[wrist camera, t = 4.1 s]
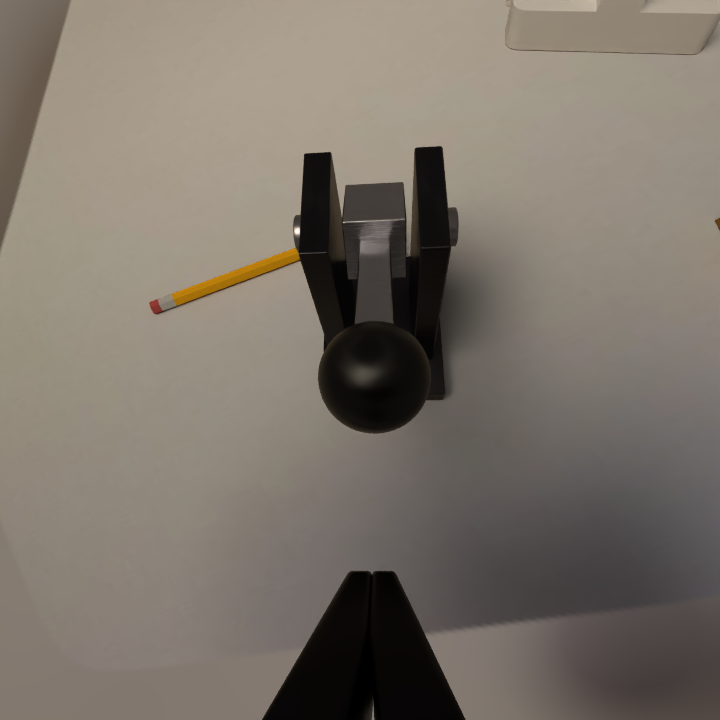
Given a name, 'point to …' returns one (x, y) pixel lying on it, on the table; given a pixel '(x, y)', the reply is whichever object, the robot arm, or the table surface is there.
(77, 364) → the table surface
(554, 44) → the slotted bracket
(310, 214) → the bracket
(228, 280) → the pencil
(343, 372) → the ball knob lever
